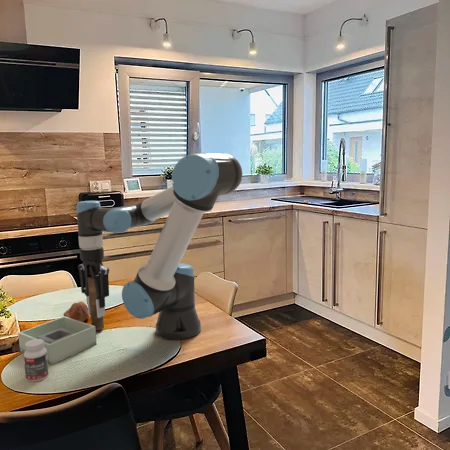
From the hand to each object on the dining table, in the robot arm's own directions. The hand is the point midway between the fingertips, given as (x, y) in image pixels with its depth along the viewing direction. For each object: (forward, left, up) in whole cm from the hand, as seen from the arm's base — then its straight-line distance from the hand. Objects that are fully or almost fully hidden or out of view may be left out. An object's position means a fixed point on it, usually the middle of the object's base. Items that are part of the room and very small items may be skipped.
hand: (96, 314), depth 145 cm
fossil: (+13, -1, -6) cm, 14 cm away
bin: (-1, +16, -5) cm, 16 cm away
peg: (0, 0, -5) cm, 5 cm away
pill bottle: (-12, +30, -6) cm, 32 cm away
